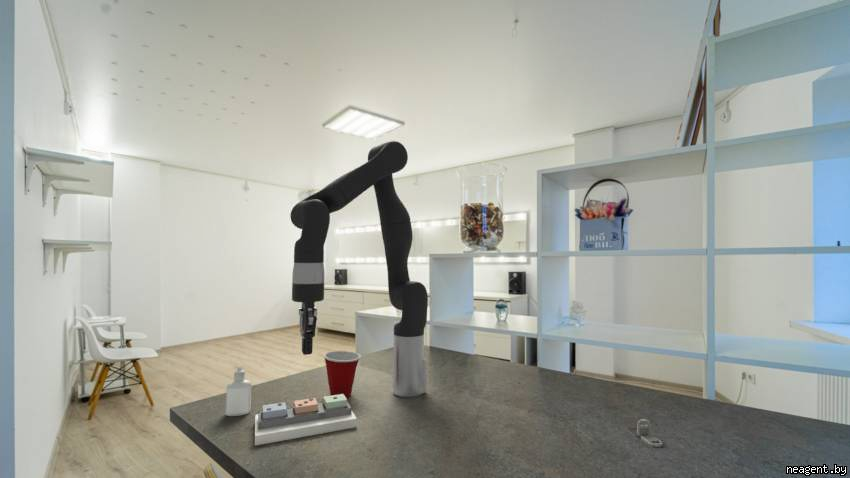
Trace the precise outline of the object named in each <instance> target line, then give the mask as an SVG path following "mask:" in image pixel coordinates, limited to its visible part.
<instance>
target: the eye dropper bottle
mask: <svg viewBox="0 0 850 478" xmlns="http://www.w3.org/2000/svg"><path fill="white" fill-rule="evenodd" d="M242 367H243V366H241V365H239V366H237V370H235V371H234V372H233V374H234V375H233V381H230V382H229V383H228V384H227V386H226V395H225V396H226V398H225V415H226V416H228V417H237V416H238V417H239V416H244V415H248V414H249V413H250V412H251V408H252V407H251V406H252V405H251V404H252V403H251V401H252V382H251V381H250V380H249V379H245V377H246V371H245V370H243V368H242Z"/></svg>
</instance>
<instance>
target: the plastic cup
mask: <svg viewBox="0 0 850 478" xmlns="http://www.w3.org/2000/svg"><path fill="white" fill-rule="evenodd" d="M361 357H362V356H361V354H360V353H357V352H354V351H350V350H349V351H348V350H335V351H334V350H333V351H327V352H326V353H324V354H323V358H324V361H325V362H324V363H325V367H326V374H327V382H328V387H329V396H332V395H339V394H344V396H345V397H346V399H347V398H349V397H352V396H351V395H352V390H353V385H354V383H355V382H354V381H355V375H356V371H357V367H358V364H359V360H360V359H361Z"/></svg>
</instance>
